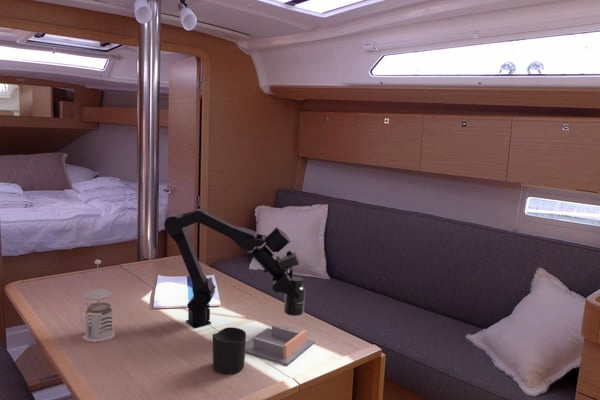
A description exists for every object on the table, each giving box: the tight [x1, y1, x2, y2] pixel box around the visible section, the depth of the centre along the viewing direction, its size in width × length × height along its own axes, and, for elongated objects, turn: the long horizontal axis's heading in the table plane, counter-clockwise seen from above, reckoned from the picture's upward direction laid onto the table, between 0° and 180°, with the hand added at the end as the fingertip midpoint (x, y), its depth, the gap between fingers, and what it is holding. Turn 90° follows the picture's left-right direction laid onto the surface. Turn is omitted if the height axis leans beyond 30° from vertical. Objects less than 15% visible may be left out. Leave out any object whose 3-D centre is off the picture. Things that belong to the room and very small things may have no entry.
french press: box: [80, 259, 115, 340], centre depth 150 cm, size 10×12×25 cm
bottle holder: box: [245, 325, 316, 367], centre depth 150 cm, size 18×18×5 cm
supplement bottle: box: [283, 276, 306, 317], centre depth 163 cm, size 7×7×12 cm
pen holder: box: [212, 326, 247, 376], centre depth 135 cm, size 9×9×10 cm
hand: (299, 294), depth 163 cm, fingers closed on supplement bottle, 7 cm apart
